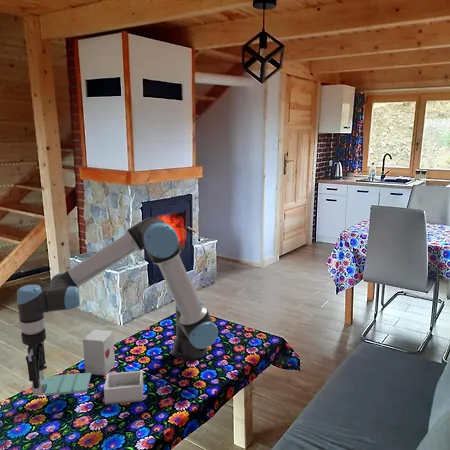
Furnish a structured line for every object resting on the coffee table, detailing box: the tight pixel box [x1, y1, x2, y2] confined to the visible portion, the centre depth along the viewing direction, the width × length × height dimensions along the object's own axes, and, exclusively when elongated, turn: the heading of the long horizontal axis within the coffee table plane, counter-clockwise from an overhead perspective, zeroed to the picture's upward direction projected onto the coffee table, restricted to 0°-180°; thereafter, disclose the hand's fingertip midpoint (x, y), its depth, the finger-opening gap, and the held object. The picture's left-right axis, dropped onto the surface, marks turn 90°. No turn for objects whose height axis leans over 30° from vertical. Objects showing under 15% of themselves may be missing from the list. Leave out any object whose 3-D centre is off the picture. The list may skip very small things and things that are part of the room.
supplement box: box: [82, 329, 116, 377], centre depth 170 cm, size 9×9×15 cm
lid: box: [31, 372, 92, 396], centre depth 150 cm, size 19×11×3 cm, turn 99°
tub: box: [103, 370, 144, 406], centre depth 154 cm, size 13×10×6 cm
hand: (39, 390), depth 149 cm, fingers closed on lid, 4 cm apart
